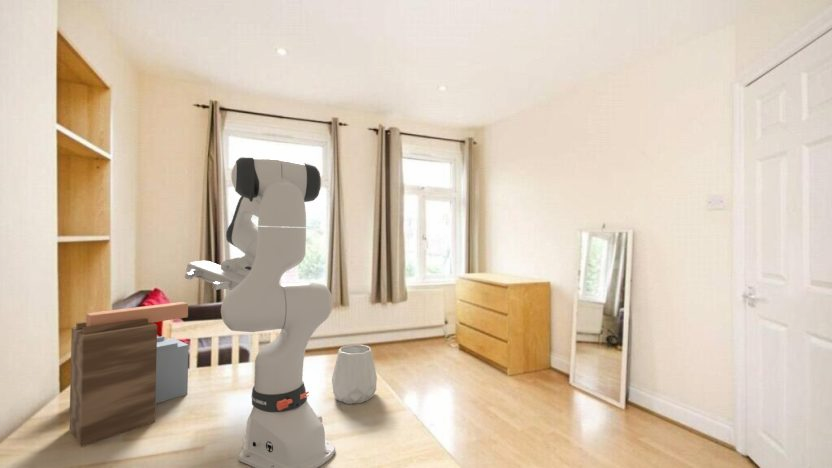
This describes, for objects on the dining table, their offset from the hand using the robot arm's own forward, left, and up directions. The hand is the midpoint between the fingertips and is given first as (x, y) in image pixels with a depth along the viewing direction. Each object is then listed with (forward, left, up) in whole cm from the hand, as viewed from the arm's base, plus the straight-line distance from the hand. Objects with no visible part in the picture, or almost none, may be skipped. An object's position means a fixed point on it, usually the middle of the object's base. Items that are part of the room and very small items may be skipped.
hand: (200, 281), depth 108 cm
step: (+18, +4, -37) cm, 41 cm away
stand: (+6, +18, -37) cm, 41 cm away
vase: (-29, -34, -37) cm, 58 cm away
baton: (+6, +13, -11) cm, 18 cm away
